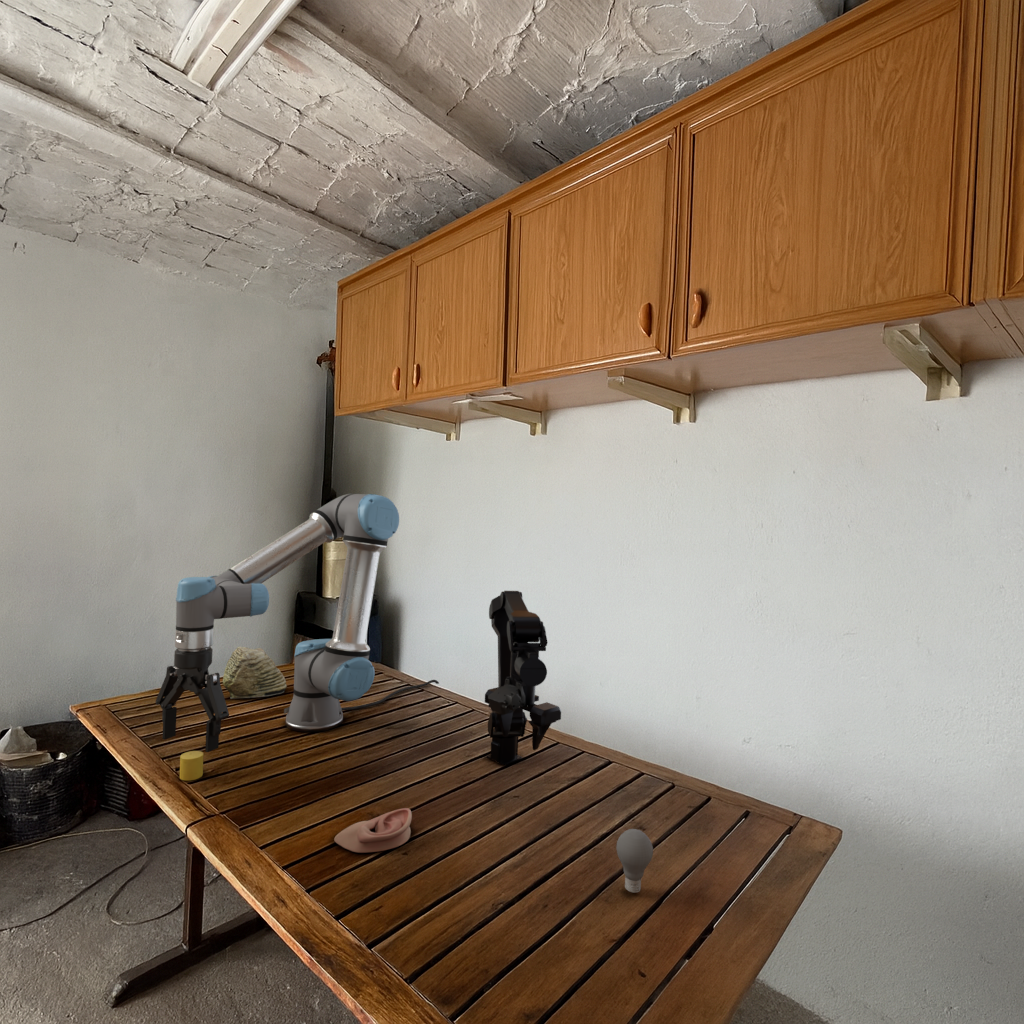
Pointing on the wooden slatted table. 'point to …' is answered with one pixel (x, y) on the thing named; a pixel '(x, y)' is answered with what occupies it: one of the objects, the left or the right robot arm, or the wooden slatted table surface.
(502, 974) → the wooden slatted table surface
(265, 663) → the fossil
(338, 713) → the left robot arm
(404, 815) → the anatomical model
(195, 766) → the canister
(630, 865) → the light bulb
